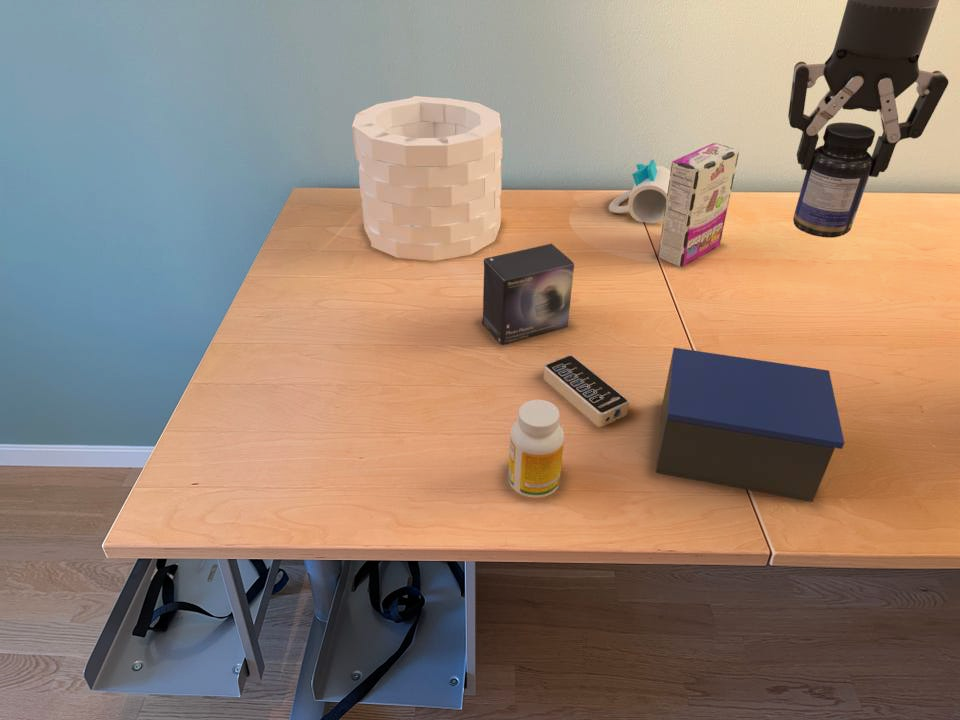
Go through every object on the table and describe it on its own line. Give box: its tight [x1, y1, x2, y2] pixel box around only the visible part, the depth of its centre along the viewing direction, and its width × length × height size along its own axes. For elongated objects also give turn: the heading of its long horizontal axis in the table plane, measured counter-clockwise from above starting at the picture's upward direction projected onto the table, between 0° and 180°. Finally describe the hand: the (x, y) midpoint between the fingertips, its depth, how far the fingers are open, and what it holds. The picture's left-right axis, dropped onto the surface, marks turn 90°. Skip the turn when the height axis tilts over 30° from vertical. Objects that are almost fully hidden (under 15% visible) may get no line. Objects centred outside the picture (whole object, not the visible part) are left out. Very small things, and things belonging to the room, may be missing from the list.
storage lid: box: [667, 347, 845, 450], centre depth 72 cm, size 16×12×1 cm
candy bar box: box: [657, 142, 740, 268], centre depth 109 cm, size 11×5×16 cm, turn 132°
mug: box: [608, 159, 671, 225], centre depth 125 cm, size 12×9×12 cm
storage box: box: [655, 357, 836, 503], centre depth 74 cm, size 16×12×8 cm
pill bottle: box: [792, 121, 876, 239], centre depth 75 cm, size 6×6×11 cm
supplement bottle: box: [508, 399, 565, 499], centre depth 70 cm, size 5×5×10 cm
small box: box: [481, 243, 575, 346], centre depth 93 cm, size 11×6×10 cm, turn 115°
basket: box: [351, 95, 504, 262], centre depth 115 cm, size 25×24×19 cm
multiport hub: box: [543, 354, 630, 428], centre depth 83 cm, size 4×11×2 cm, turn 32°
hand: (838, 170), depth 74 cm, fingers closed on pill bottle, 6 cm apart
